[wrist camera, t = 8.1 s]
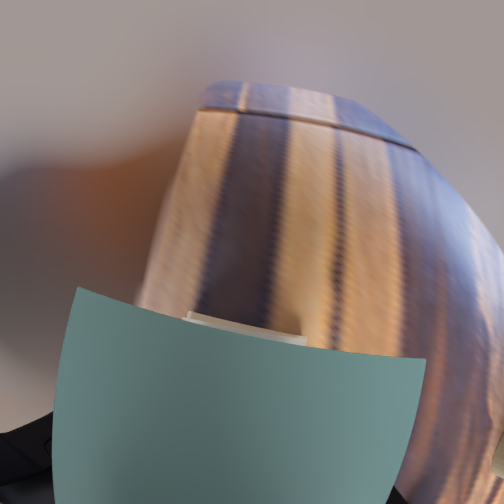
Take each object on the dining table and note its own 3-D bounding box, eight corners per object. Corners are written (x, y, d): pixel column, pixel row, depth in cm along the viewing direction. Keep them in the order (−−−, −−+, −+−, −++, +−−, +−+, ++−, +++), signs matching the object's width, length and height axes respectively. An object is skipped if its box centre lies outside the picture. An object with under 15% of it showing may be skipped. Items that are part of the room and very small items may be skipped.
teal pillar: (272, 447, 13) (331, 589, 2) (172, 426, 13) (60, 533, 2) (294, 354, 15) (426, 359, 4) (192, 333, 15) (77, 286, 4)
